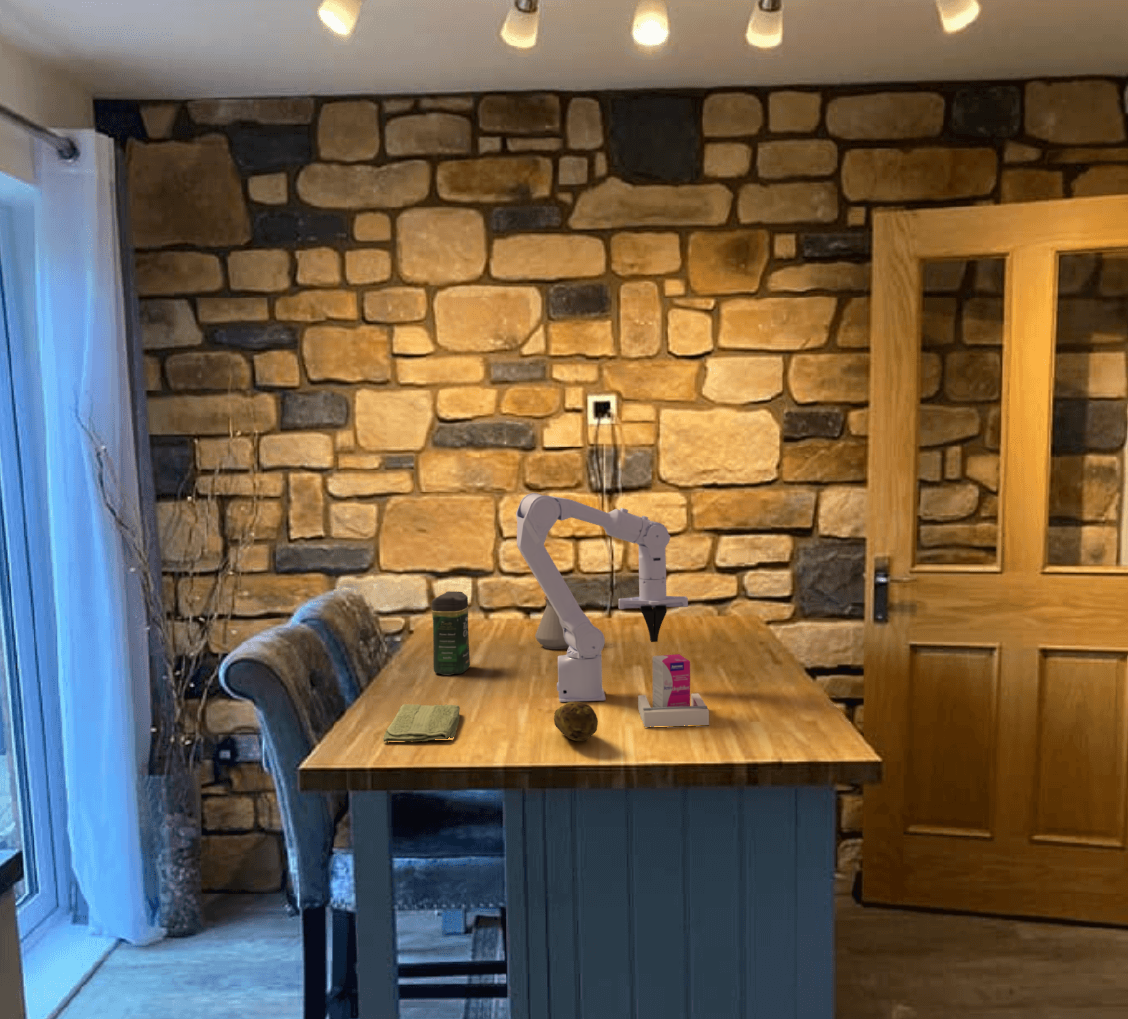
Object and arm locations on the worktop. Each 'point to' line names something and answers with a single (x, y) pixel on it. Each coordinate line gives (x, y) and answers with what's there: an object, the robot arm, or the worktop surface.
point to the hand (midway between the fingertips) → (653, 640)
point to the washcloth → (423, 723)
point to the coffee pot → (550, 629)
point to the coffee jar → (450, 633)
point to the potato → (576, 720)
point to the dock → (674, 713)
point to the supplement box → (671, 681)
